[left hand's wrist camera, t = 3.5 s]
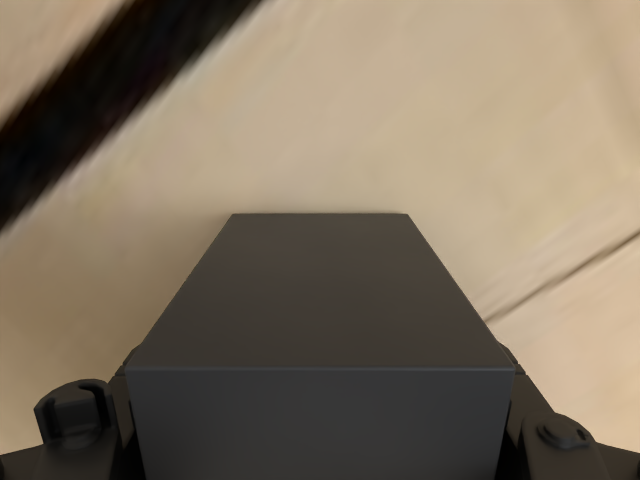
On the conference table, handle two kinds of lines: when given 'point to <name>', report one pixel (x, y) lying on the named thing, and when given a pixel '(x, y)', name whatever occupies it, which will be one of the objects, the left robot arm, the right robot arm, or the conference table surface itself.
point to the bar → (320, 360)
